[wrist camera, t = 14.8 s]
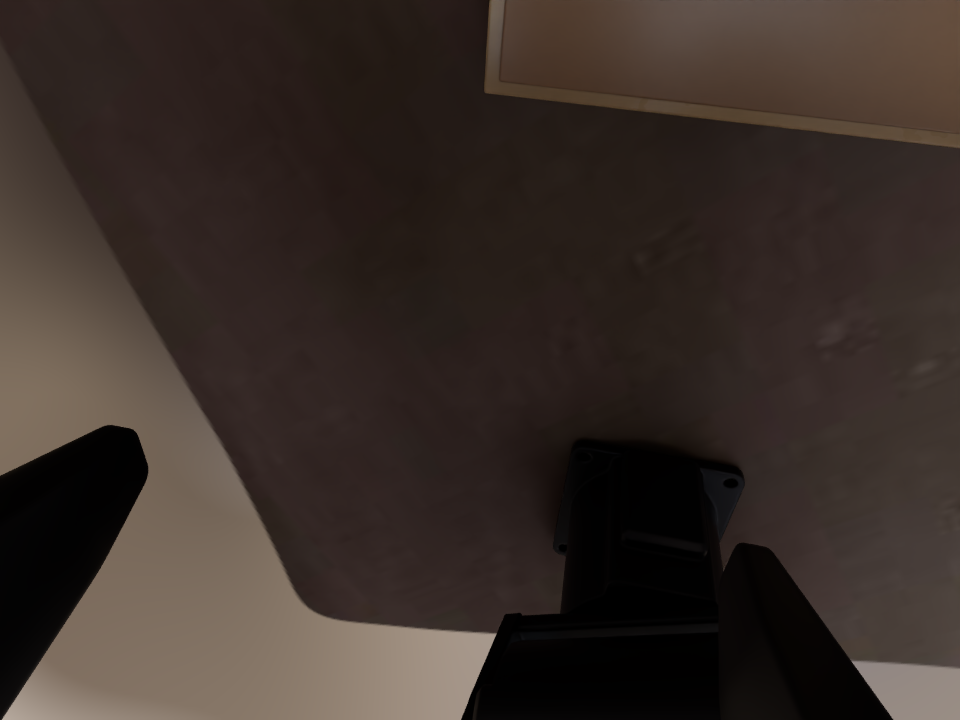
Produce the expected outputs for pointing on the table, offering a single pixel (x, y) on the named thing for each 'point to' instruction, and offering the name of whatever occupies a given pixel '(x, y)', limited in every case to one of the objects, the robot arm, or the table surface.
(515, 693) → the robot arm
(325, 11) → the table surface
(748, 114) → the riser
